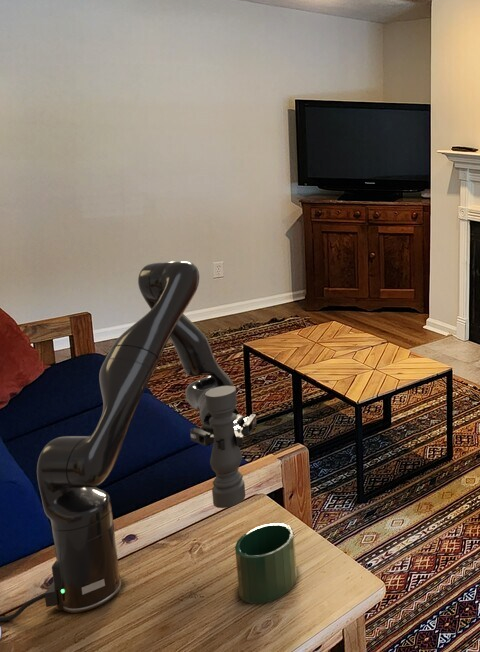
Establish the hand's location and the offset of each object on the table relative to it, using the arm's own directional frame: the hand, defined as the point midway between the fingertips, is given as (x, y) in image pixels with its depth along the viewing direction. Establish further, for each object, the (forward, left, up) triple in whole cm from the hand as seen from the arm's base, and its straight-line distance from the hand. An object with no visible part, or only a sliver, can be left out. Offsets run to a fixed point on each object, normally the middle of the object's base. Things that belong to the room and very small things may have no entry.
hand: (230, 443), depth 130 cm
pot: (+7, -12, -26) cm, 29 cm away
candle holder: (-2, +2, -14) cm, 14 cm away
